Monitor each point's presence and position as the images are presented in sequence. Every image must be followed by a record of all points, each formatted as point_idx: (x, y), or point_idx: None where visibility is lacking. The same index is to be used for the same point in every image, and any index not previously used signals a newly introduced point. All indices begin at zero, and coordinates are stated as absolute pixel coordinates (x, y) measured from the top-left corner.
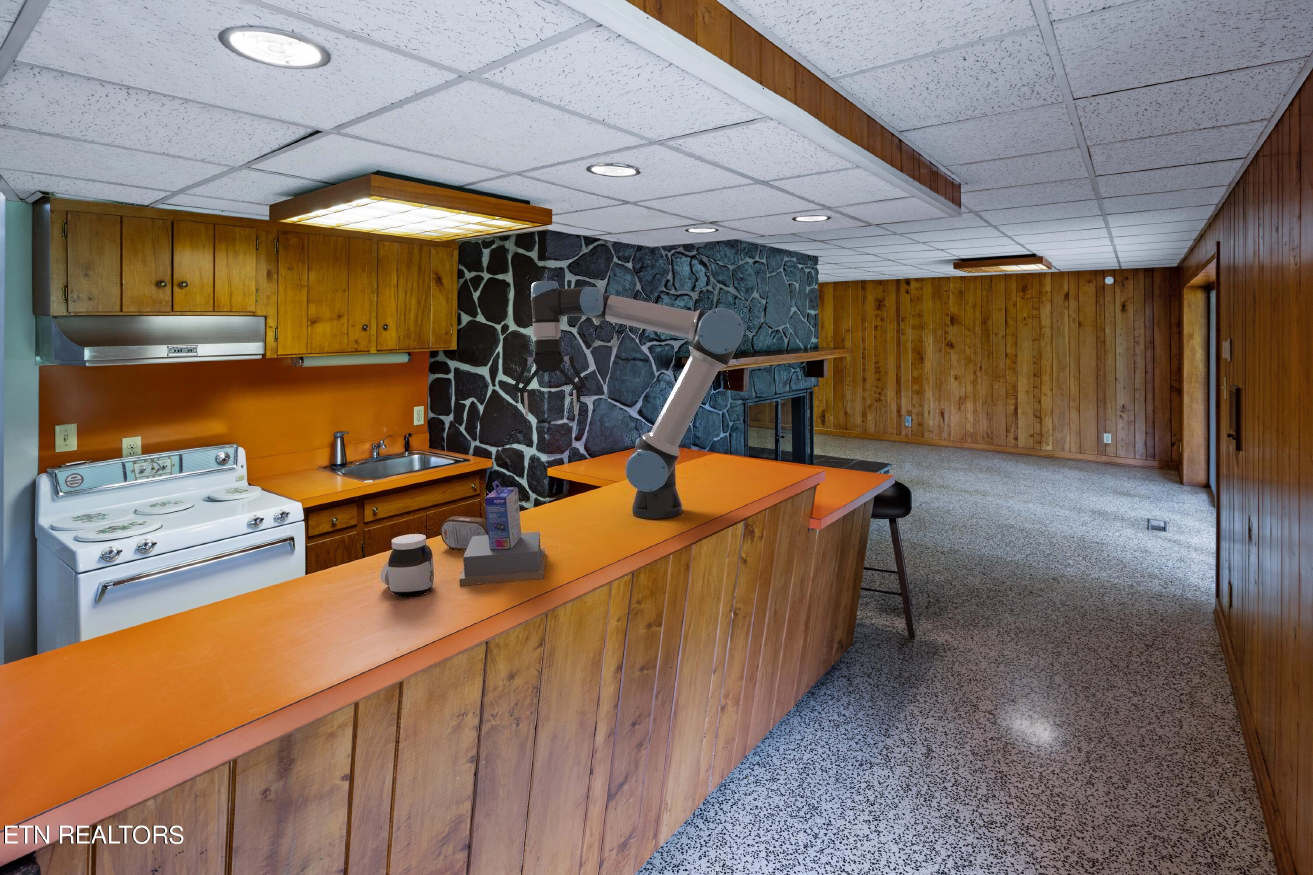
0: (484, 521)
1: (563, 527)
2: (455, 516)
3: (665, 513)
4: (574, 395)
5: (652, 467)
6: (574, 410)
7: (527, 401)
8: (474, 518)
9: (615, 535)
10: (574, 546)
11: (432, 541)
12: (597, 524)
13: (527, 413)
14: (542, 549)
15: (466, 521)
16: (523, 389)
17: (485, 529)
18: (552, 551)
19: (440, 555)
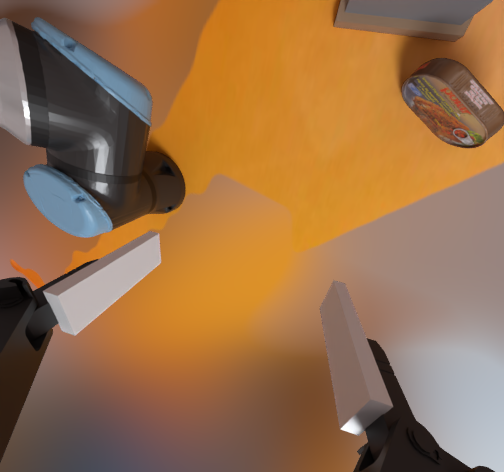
0: (441, 73)
1: (272, 170)
2: (484, 124)
3: (147, 151)
4: (82, 276)
5: (78, 42)
6: (148, 240)
7: (336, 356)
8: (457, 91)
9: (218, 96)
10: (282, 56)
11: (458, 181)
12: (230, 164)
13: (338, 289)
14: (342, 9)
15: (478, 81)
16: (410, 453)
17: (439, 58)
18: (319, 38)
19: (487, 91)
